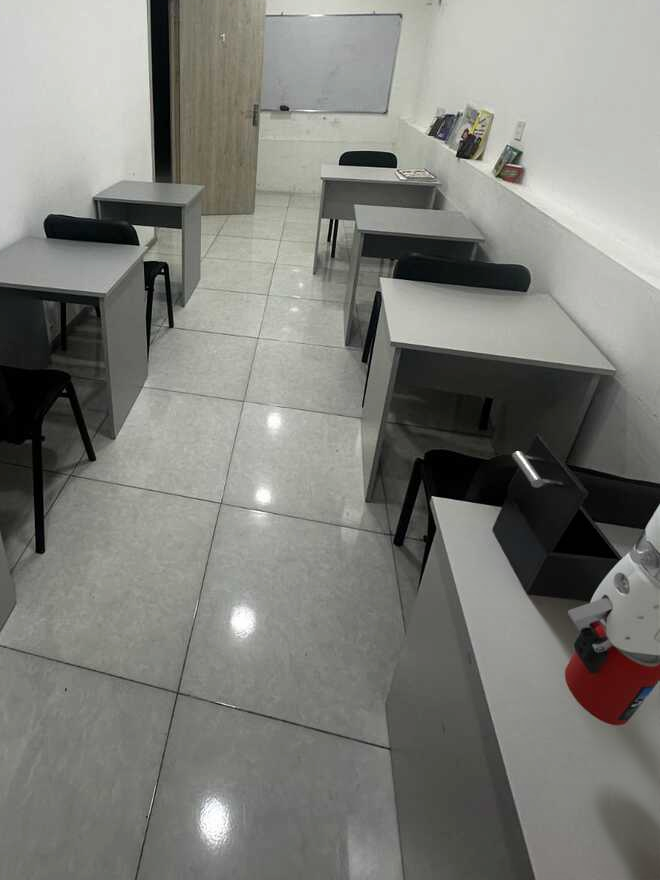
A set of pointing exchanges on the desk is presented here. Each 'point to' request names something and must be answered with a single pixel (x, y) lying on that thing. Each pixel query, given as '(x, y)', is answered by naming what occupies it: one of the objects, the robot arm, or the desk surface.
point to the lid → (545, 492)
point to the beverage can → (613, 683)
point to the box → (556, 555)
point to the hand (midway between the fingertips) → (616, 662)
